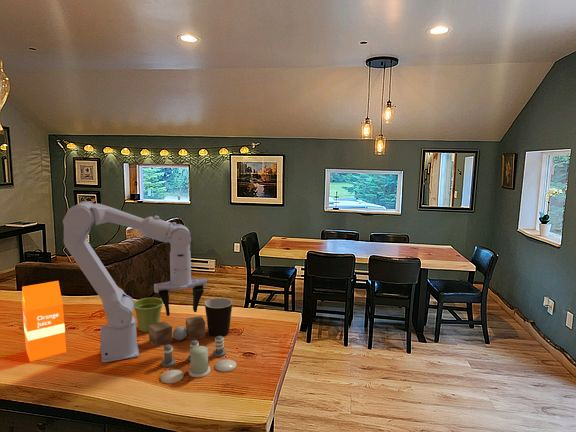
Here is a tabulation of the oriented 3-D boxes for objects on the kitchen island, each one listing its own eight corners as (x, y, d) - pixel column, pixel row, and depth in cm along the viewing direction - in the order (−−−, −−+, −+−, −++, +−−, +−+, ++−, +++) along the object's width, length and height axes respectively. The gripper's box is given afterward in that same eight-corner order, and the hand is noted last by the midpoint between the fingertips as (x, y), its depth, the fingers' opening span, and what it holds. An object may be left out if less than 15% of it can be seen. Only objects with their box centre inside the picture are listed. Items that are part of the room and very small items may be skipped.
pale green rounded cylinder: (193, 375, 100) (192, 355, 99) (189, 367, 104) (188, 348, 103) (210, 371, 102) (209, 352, 101) (205, 363, 106) (205, 344, 105)
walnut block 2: (188, 339, 120) (188, 324, 119) (186, 333, 124) (185, 318, 124) (205, 337, 122) (205, 322, 121) (201, 330, 126) (201, 315, 126)
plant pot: (167, 322, 132) (167, 297, 130) (159, 335, 123) (158, 308, 121) (139, 322, 132) (138, 297, 130) (129, 334, 122) (128, 308, 121)
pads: (161, 385, 96) (161, 383, 96) (159, 373, 101) (159, 372, 101) (238, 369, 104) (238, 367, 104) (233, 359, 109) (233, 357, 109)
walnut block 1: (156, 347, 115) (156, 331, 114) (149, 341, 119) (148, 325, 118) (172, 342, 118) (172, 326, 118) (164, 336, 122) (164, 321, 121)
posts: (162, 368, 104) (161, 350, 103) (160, 361, 107) (160, 344, 106) (227, 355, 111) (227, 339, 110) (224, 349, 114) (223, 333, 113)
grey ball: (174, 343, 117) (173, 331, 117) (172, 337, 121) (172, 325, 120) (187, 341, 119) (187, 328, 118) (185, 335, 122) (185, 323, 122)
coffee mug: (226, 340, 120) (226, 309, 118) (200, 337, 122) (200, 306, 120) (239, 324, 131) (239, 296, 130) (214, 321, 133) (214, 293, 131)
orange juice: (25, 350, 111) (19, 283, 108) (61, 341, 117) (56, 277, 114) (29, 362, 105) (23, 290, 102) (66, 352, 111) (61, 284, 108)
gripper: (155, 274, 106) (156, 321, 108) (208, 268, 111) (209, 314, 113) (152, 267, 112) (154, 312, 114) (203, 262, 118) (204, 305, 120)
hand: (181, 312), depth 114 cm, fingers open, 7 cm apart
